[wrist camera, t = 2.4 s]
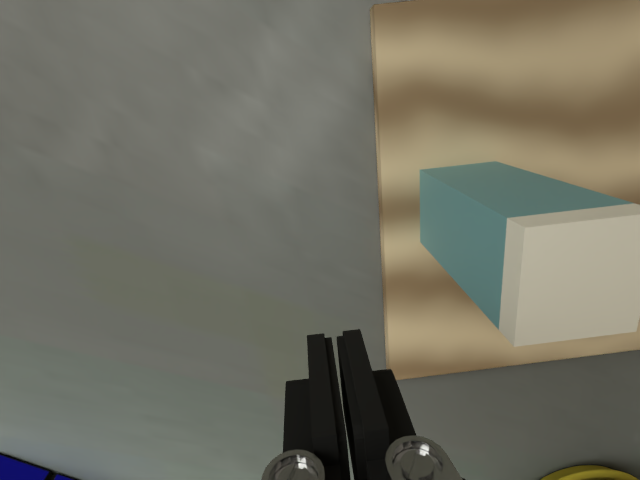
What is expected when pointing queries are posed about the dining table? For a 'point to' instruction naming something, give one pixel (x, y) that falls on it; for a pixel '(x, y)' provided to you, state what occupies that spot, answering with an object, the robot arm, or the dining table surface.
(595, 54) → the oak board
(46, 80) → the dining table surface
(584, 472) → the flowerpot
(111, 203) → the dining table surface
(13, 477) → the puzzle cube
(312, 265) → the dining table surface
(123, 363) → the dining table surface
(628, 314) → the teal block
